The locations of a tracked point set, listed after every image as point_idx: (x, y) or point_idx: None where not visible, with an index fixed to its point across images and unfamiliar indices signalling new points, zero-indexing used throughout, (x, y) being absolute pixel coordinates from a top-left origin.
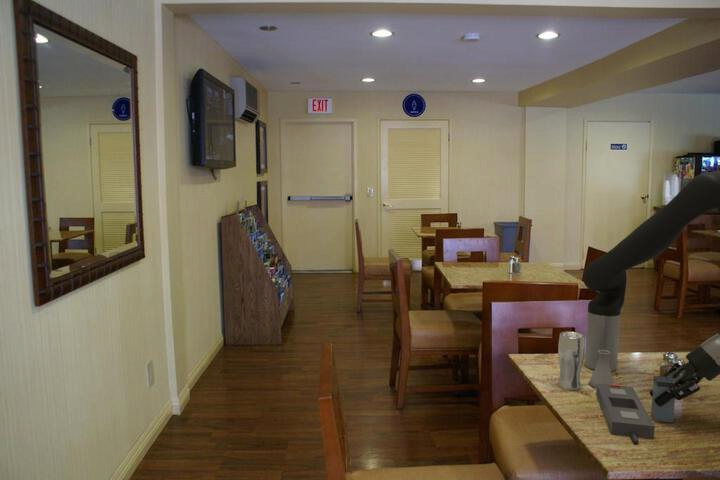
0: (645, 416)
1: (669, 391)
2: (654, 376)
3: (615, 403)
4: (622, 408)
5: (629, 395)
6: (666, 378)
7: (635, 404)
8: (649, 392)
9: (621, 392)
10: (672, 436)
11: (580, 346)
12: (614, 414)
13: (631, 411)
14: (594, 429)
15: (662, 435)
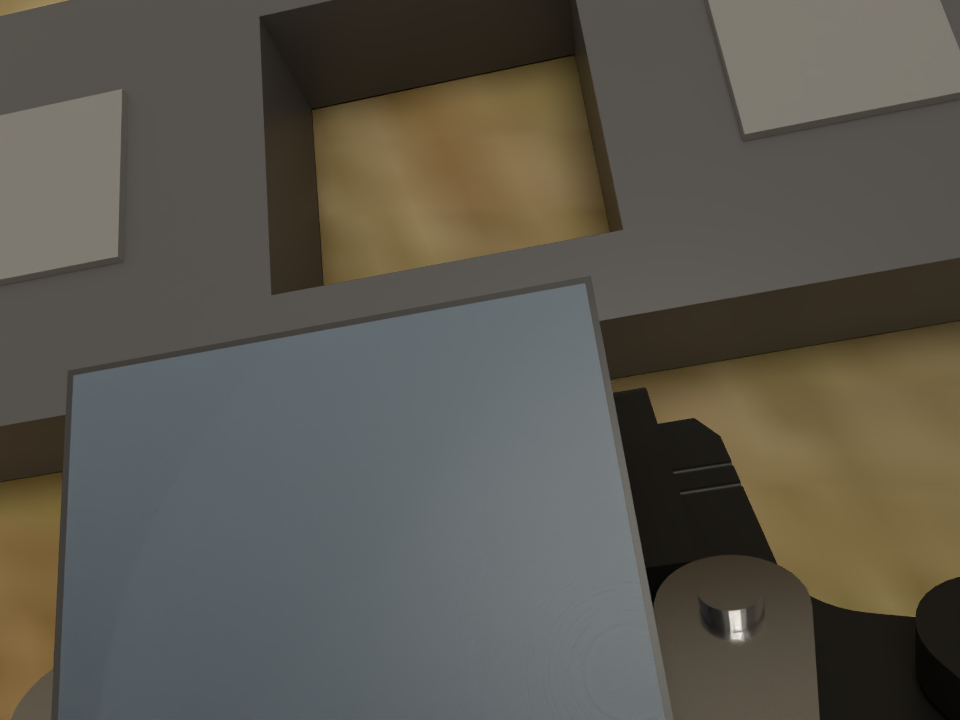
0: (50, 370)
1: (28, 711)
2: (512, 300)
3: (584, 80)
4: (234, 117)
5: (772, 175)
6: (458, 680)
7: (480, 264)
8: (638, 389)
9: (812, 66)
10: (5, 714)
11: None
12: (33, 53)
13: (167, 213)
14: (20, 7)
15: (10, 598)
